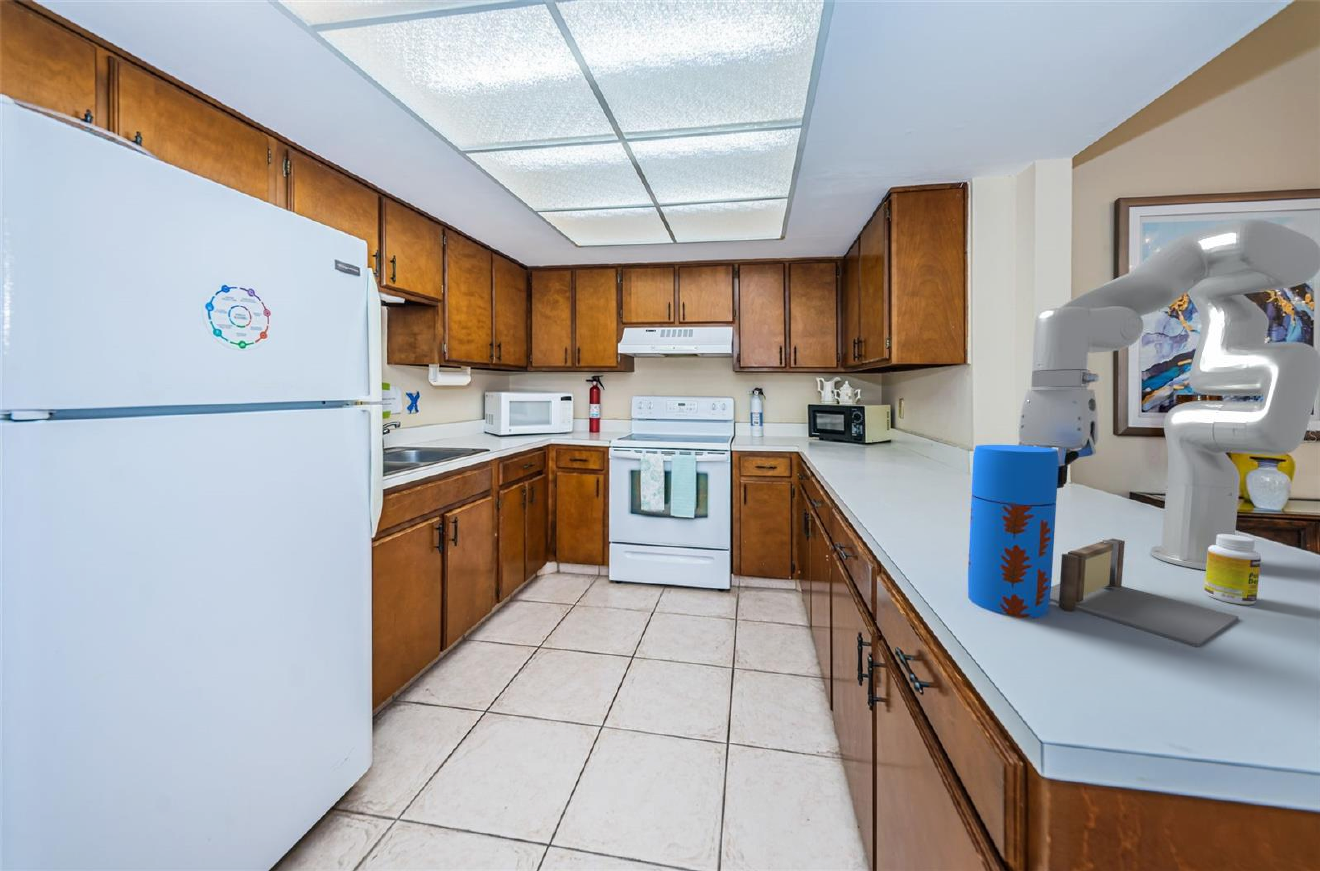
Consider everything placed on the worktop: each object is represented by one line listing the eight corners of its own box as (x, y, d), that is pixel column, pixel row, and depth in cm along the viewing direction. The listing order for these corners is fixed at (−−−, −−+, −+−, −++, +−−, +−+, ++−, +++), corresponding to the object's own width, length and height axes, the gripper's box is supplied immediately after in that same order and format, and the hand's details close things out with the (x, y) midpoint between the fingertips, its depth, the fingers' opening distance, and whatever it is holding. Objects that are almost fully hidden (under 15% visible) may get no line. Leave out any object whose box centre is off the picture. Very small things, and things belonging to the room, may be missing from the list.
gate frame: (1080, 577, 89) (1083, 532, 89) (1238, 619, 73) (1243, 563, 72) (1027, 598, 80) (1029, 548, 80) (1192, 650, 64) (1198, 588, 63)
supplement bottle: (1253, 609, 76) (1259, 544, 75) (1200, 597, 80) (1205, 535, 80) (1259, 600, 79) (1265, 538, 78) (1207, 589, 84) (1213, 530, 83)
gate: (1102, 582, 84) (1105, 539, 84) (1117, 586, 83) (1120, 542, 82) (1064, 598, 78) (1067, 551, 77) (1079, 602, 76) (1082, 555, 76)
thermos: (969, 585, 86) (975, 443, 84) (1046, 599, 80) (1056, 446, 78) (964, 607, 77) (972, 449, 75) (1051, 625, 71) (1062, 453, 69)
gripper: (1125, 380, 80) (1118, 492, 81) (1021, 382, 93) (1015, 478, 94) (1105, 380, 76) (1097, 497, 78) (999, 382, 89) (994, 482, 91)
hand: (1052, 486), depth 86 cm, fingers closed
